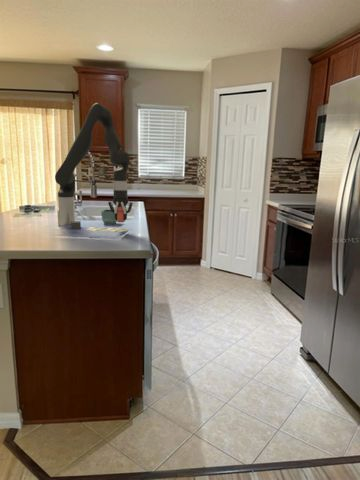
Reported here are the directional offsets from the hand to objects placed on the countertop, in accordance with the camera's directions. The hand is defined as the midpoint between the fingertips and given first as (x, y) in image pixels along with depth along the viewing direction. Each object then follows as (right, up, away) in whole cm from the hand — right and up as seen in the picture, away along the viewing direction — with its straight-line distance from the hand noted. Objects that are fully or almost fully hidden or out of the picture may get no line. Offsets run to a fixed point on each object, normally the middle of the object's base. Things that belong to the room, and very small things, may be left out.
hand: (120, 220), depth 196 cm
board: (-8, -6, +2) cm, 11 cm away
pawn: (0, -1, 0) cm, 1 cm away
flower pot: (-10, -2, +22) cm, 24 cm away
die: (-26, -6, +4) cm, 27 cm away
